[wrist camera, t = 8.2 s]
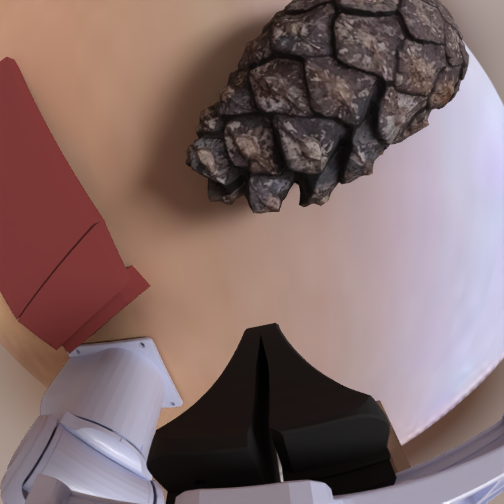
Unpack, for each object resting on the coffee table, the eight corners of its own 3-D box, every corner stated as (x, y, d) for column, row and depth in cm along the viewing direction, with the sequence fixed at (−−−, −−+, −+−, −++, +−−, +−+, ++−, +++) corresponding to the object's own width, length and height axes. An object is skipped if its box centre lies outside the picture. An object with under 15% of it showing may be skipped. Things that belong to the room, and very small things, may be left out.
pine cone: (174, 160, 19) (111, 168, 9) (326, -16, 15) (370, -93, 5) (298, 249, 21) (339, 325, 11) (431, 72, 17) (521, 46, 7)
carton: (-24, 150, 21) (81, 343, 23) (-55, 149, 16) (52, 369, 18) (35, 62, 18) (169, 270, 21) (3, 49, 14) (142, 291, 16)
